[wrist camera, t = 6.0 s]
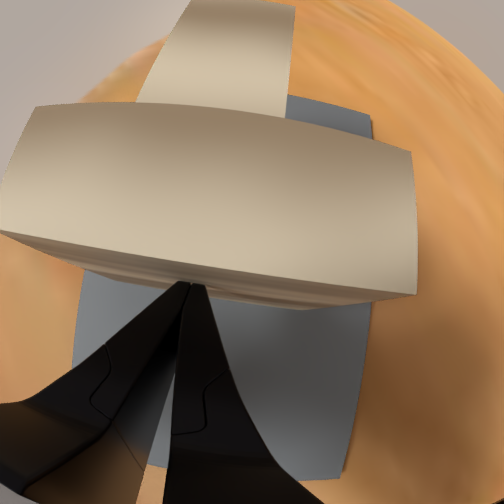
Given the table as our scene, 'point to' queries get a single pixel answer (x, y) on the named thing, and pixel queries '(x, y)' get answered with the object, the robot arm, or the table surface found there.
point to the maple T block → (217, 178)
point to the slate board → (265, 350)
